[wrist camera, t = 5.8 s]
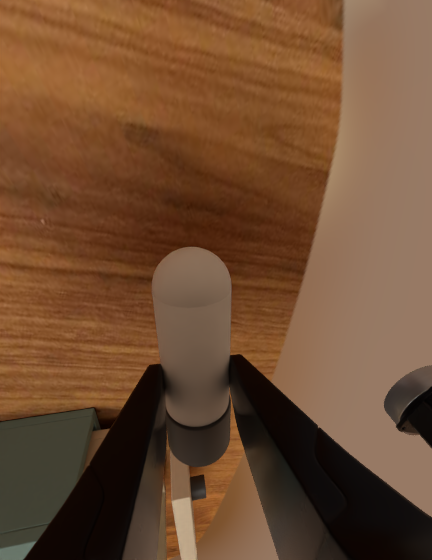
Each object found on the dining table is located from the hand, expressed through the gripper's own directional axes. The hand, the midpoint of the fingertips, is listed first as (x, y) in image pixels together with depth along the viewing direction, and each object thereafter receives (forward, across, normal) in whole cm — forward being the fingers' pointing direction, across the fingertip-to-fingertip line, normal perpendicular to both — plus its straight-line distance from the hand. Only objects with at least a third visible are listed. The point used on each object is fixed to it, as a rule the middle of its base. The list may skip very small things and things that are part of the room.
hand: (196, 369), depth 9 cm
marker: (+1, 0, 0) cm, 1 cm away
